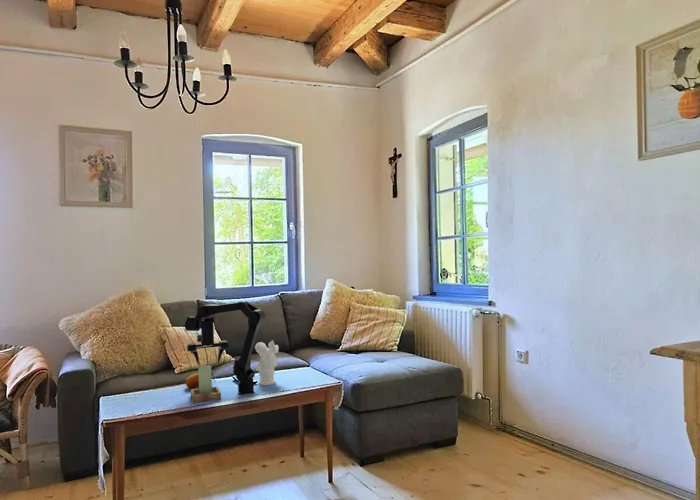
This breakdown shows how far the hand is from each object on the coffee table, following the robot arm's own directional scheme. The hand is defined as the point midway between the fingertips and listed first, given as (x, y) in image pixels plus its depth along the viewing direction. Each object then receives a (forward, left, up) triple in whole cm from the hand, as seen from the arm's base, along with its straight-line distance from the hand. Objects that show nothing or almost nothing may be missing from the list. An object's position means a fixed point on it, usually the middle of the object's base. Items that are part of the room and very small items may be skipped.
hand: (208, 363), depth 244 cm
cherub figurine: (-30, -3, -13) cm, 33 cm away
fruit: (+6, -10, -13) cm, 18 cm away
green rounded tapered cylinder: (+2, +11, -12) cm, 16 cm away
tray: (+2, +11, -13) cm, 17 cm away
